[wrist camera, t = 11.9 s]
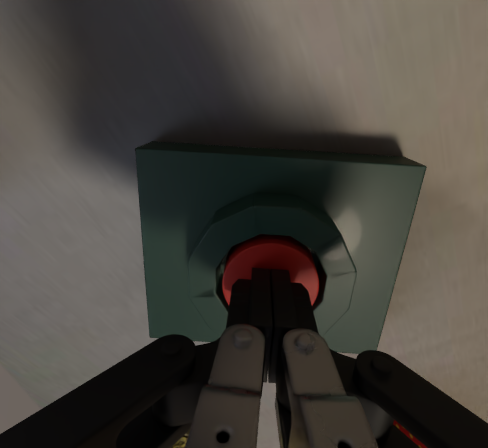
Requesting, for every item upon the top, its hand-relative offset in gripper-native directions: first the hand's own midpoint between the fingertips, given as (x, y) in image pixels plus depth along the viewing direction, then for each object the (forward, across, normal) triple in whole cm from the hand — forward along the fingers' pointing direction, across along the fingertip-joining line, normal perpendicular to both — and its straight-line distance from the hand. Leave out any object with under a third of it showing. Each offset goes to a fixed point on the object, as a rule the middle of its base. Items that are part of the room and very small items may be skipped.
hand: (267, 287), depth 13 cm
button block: (+4, 0, 0) cm, 4 cm away
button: (+2, 0, 0) cm, 2 cm away
